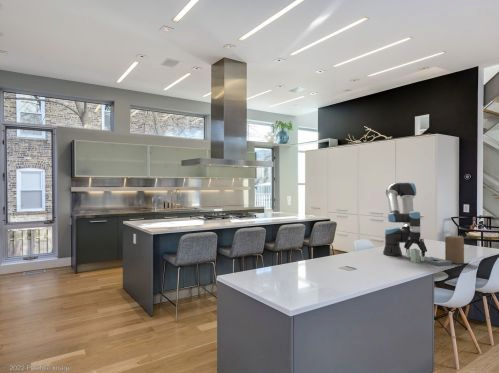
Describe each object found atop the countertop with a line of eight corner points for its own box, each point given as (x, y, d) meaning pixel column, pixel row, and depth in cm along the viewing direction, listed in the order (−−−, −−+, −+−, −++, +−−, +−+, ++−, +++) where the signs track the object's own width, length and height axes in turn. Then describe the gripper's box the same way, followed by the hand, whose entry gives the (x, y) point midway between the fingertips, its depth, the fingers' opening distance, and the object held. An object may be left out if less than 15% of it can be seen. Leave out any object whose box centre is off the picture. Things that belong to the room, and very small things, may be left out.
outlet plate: (418, 261, 268) (418, 258, 268) (431, 259, 273) (431, 256, 273) (438, 265, 251) (438, 262, 251) (451, 264, 256) (451, 261, 256)
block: (444, 262, 263) (444, 236, 264) (450, 260, 269) (450, 235, 270) (459, 264, 255) (458, 237, 256) (464, 262, 262) (464, 236, 262)
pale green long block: (410, 261, 267) (410, 248, 267) (415, 261, 268) (415, 248, 268) (415, 262, 262) (415, 249, 263) (419, 262, 264) (419, 248, 264)
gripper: (399, 230, 276) (399, 256, 276) (424, 233, 253) (425, 262, 252) (406, 229, 279) (406, 255, 278) (432, 233, 255) (432, 261, 255)
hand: (415, 259), depth 265 cm, fingers open, 13 cm apart
